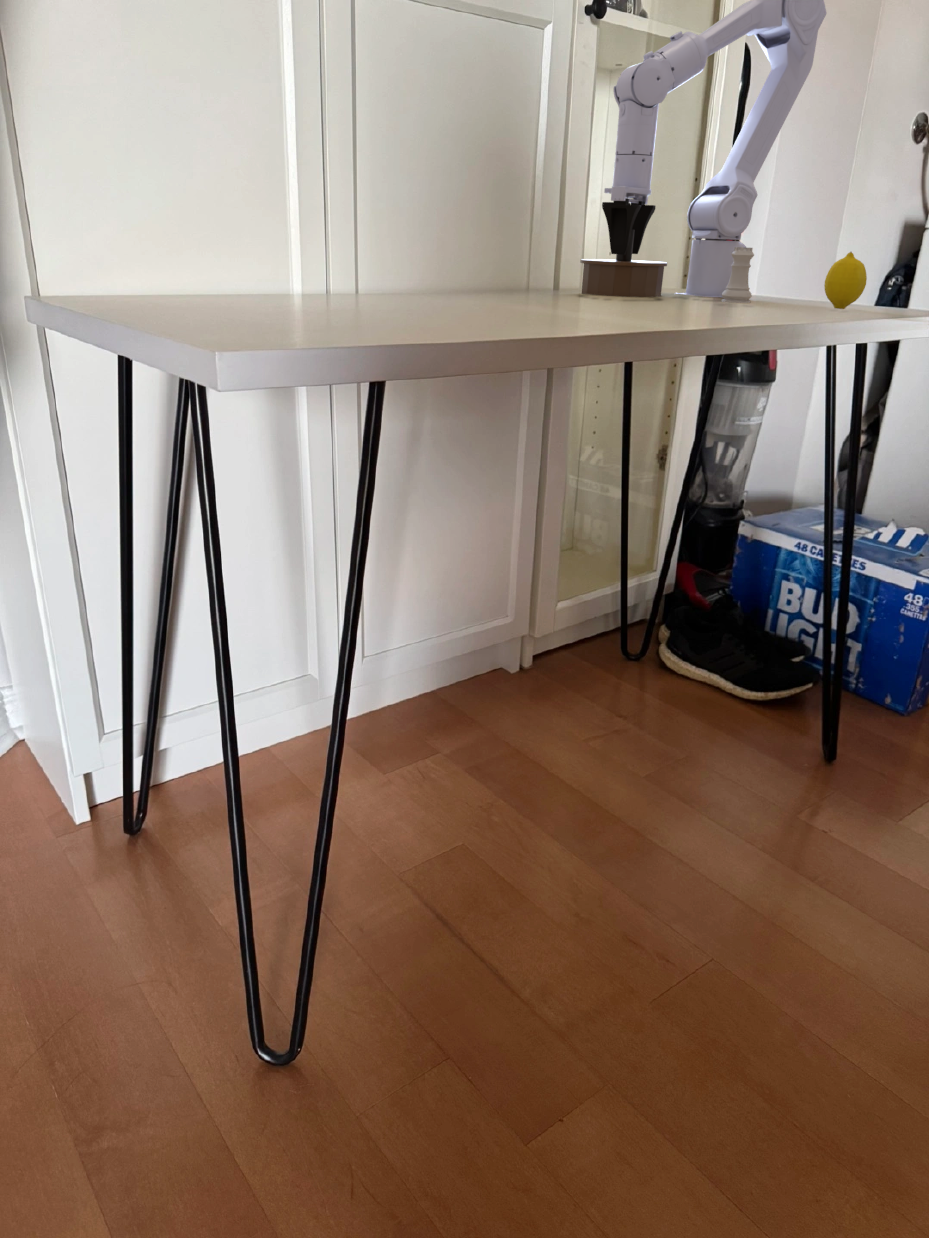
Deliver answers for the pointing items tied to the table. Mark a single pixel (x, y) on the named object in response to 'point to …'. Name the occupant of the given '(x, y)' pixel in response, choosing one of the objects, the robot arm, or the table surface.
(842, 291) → the fruit
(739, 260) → the rook chess piece
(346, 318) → the table surface
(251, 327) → the table surface
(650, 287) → the tin
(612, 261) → the tin lid
